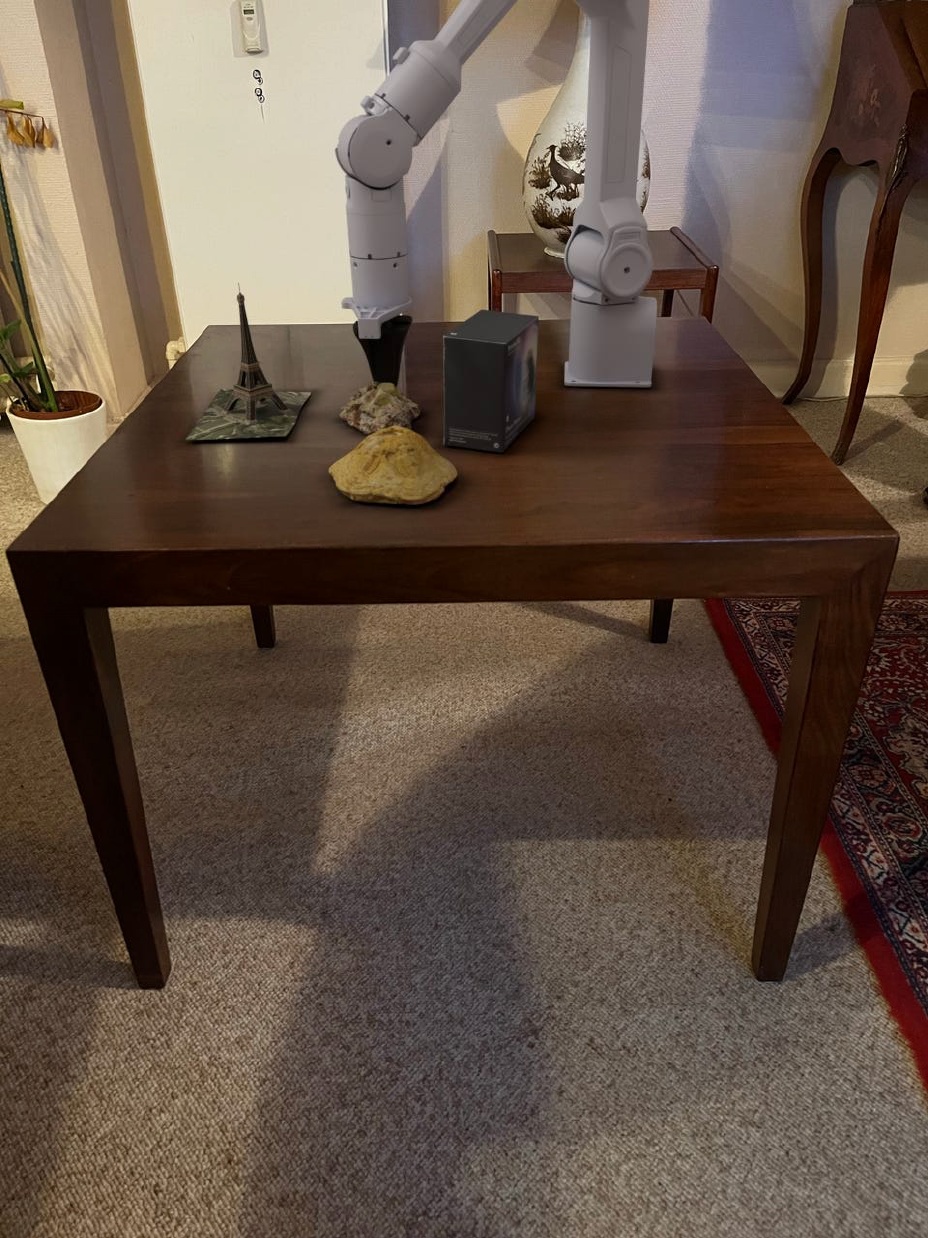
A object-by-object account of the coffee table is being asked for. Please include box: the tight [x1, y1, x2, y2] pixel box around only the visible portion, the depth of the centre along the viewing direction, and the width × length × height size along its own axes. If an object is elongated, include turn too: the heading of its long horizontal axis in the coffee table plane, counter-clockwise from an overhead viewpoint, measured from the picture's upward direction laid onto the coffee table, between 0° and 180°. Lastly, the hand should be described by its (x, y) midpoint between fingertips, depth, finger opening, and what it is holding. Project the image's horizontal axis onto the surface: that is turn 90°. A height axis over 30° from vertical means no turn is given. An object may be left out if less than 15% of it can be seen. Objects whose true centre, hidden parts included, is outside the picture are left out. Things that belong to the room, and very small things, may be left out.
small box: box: [442, 309, 540, 454], centre depth 89 cm, size 11×6×10 cm, turn 160°
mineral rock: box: [339, 381, 422, 435], centre depth 93 cm, size 11×4×8 cm
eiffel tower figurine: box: [185, 282, 313, 441], centre depth 93 cm, size 15×10×13 cm
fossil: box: [328, 425, 458, 506], centre depth 80 cm, size 11×6×10 cm
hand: (386, 389), depth 98 cm, fingers closed
